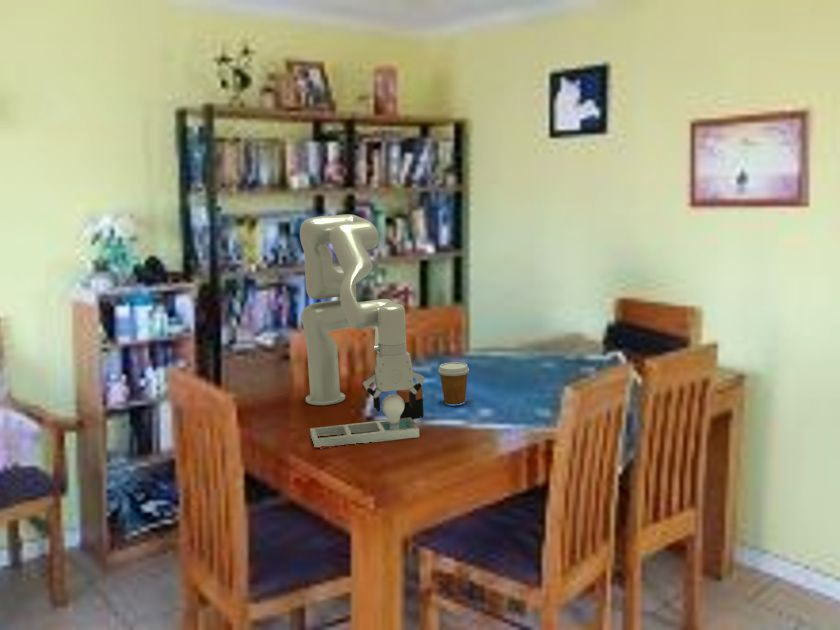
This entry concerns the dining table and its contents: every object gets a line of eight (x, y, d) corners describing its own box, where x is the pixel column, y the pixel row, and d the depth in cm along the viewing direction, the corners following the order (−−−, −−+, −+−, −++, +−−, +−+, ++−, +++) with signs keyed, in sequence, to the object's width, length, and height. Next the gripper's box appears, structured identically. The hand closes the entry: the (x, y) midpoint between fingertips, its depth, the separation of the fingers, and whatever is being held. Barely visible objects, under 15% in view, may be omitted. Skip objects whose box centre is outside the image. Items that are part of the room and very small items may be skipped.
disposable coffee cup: (439, 408, 261) (438, 370, 259) (439, 399, 271) (437, 362, 268) (471, 407, 261) (470, 368, 259) (469, 398, 271) (468, 361, 268)
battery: (424, 416, 254) (422, 383, 252) (405, 421, 250) (404, 388, 248) (415, 413, 258) (413, 381, 256) (397, 418, 254) (395, 385, 252)
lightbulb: (395, 427, 244) (393, 389, 242) (410, 431, 240) (408, 393, 238) (378, 432, 240) (376, 395, 238) (393, 437, 236) (392, 399, 233)
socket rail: (310, 437, 240) (310, 428, 239) (411, 425, 246) (410, 417, 246) (314, 449, 230) (314, 440, 230) (419, 437, 236) (418, 428, 236)
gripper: (363, 354, 230) (366, 415, 234) (426, 349, 234) (428, 409, 237) (359, 348, 237) (362, 407, 241) (420, 343, 241) (422, 401, 245)
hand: (394, 408), depth 239 cm, fingers open, 9 cm apart
